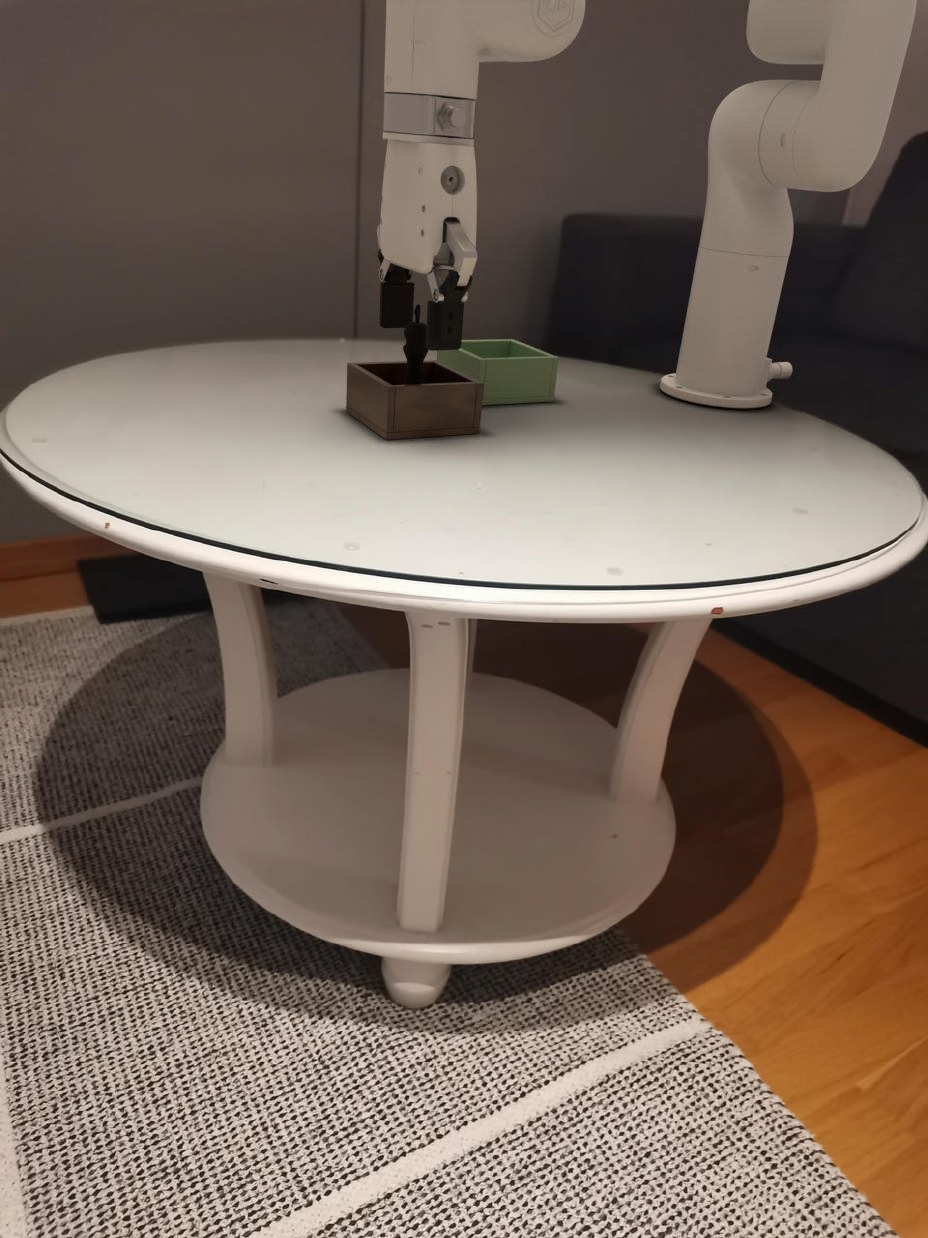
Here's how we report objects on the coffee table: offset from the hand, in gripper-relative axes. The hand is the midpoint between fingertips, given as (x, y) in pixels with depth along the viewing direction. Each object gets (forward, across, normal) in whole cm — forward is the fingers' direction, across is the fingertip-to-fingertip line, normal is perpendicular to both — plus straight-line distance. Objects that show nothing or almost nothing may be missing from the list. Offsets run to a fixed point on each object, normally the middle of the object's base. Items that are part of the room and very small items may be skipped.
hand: (418, 337), depth 84 cm
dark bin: (+8, 0, 0) cm, 8 cm away
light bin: (+8, +9, -14) cm, 18 cm away
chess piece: (+7, 0, 0) cm, 7 cm away
